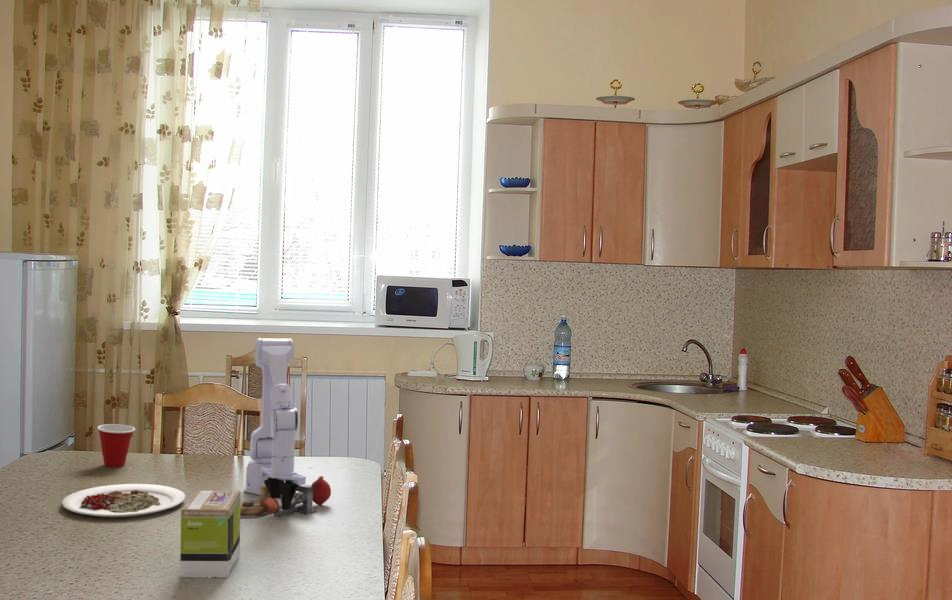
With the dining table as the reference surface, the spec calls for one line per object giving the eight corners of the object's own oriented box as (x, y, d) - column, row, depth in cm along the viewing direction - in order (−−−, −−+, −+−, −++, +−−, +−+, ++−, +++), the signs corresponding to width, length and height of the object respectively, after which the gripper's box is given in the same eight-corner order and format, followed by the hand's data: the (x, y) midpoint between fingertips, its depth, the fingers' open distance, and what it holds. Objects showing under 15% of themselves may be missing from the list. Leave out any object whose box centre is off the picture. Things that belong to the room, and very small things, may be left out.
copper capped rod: (263, 512, 232) (263, 496, 232) (299, 502, 243) (300, 486, 243) (274, 515, 229) (275, 499, 229) (311, 505, 241) (312, 489, 240)
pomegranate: (325, 509, 242) (326, 479, 241) (305, 507, 243) (306, 477, 242) (333, 503, 247) (334, 474, 247) (313, 501, 248) (314, 472, 248)
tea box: (194, 554, 202) (196, 488, 201) (240, 555, 203) (243, 489, 202) (178, 578, 187) (180, 507, 186) (228, 579, 188) (230, 508, 187)
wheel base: (213, 511, 235) (213, 510, 235) (248, 502, 245) (248, 501, 245) (246, 520, 228) (246, 519, 228) (280, 510, 238) (281, 509, 238)
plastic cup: (125, 470, 273) (127, 430, 273) (90, 468, 273) (91, 429, 273) (139, 462, 284) (140, 424, 284) (105, 460, 284) (106, 422, 284)
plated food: (206, 508, 239) (207, 495, 239) (93, 529, 217) (94, 515, 217) (151, 485, 259) (151, 473, 259) (42, 502, 237) (42, 489, 237)
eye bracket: (264, 513, 235) (265, 487, 235) (291, 505, 244) (292, 480, 243) (289, 520, 230) (290, 493, 230) (316, 512, 239) (317, 486, 238)
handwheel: (227, 515, 231) (227, 491, 230) (228, 504, 240) (229, 481, 240) (269, 514, 233) (270, 490, 233) (268, 503, 243) (269, 480, 242)
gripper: (251, 453, 234) (249, 505, 235) (292, 462, 226) (290, 516, 227) (271, 449, 240) (269, 500, 241) (312, 458, 232) (310, 510, 233)
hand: (281, 507), depth 234 cm, fingers closed on copper capped rod, 3 cm apart
